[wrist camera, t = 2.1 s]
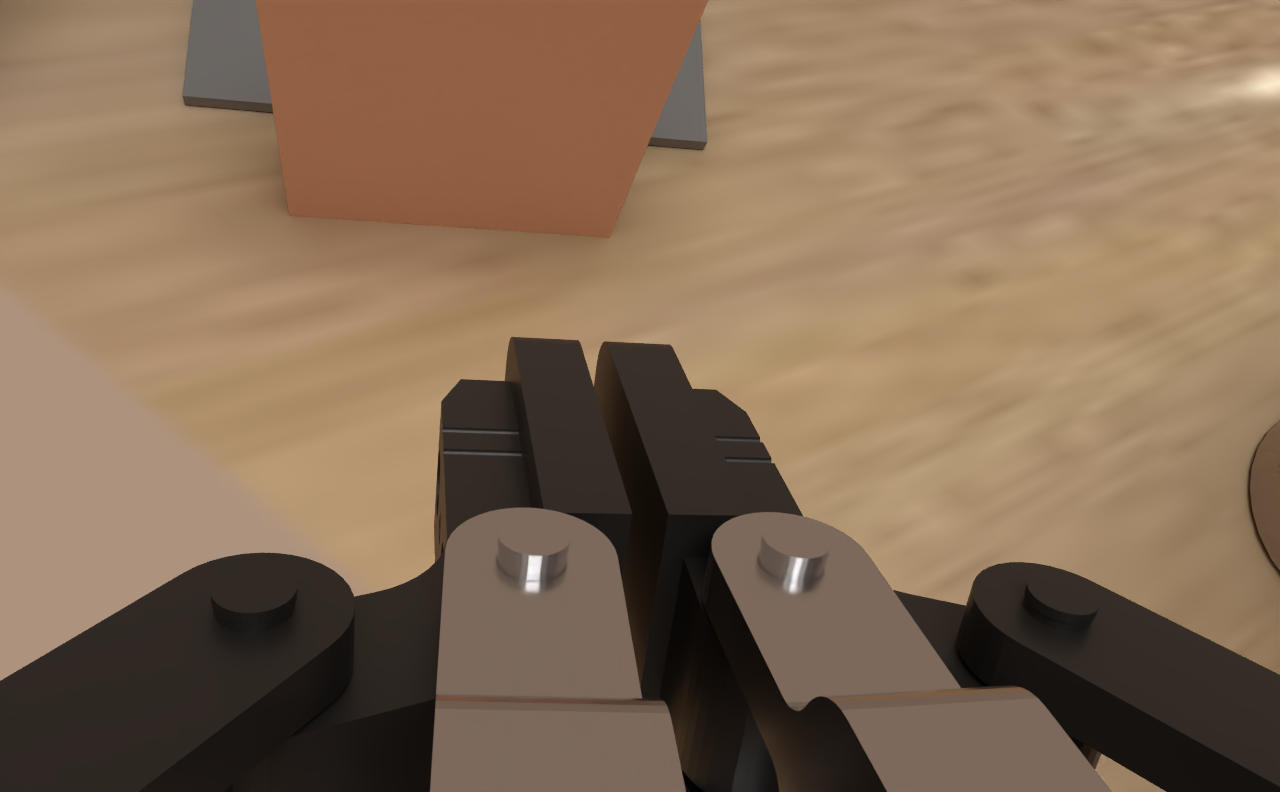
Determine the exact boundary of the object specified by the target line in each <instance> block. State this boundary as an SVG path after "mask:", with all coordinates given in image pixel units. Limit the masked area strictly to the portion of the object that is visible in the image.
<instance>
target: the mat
mask: <svg viewBox="0 0 1280 792" xmlns="http://www.w3.org/2000/svg"><path fill="white" fill-rule="evenodd" d="M183 99H184V102H185V105H193V106H204V107H216V108H227V109H239V110H250V111H262V112H273V108H272V101H271V95H270V88H269V82H268V76H267V69H266V63H265V56H264V50H263V44H262V37H261V31H260V24H259V18H258V12H257V5H256V0H193V8H192V17H191V26H190V35H189V44H188V53H187V62H186V71H185V80H184V88H183ZM706 143H707V132H706V114H705V96H704V78H703V60H702V42H701V24H700V21H699V23H698V26H697V28H696V30H695V33H694V35H693V38H692V40H691V42H690V45H689V47H688V50H687V52H686V54H685V57H684V59H683V62H682V64H681V66H680V69H679V71H678V74H677V76H676V78H675V81H674V83H673V86H672V88H671V90H670V93H669V95H668V98H667V100H666V102H665V105H664V107H663V110H662V112H661V114H660V117H659V119H658V122H657V124H656V126H655V129H654V131H653V134H652V136H651V138H650V141H649V143H648V145H654V146H666V147H677V148H689V149H700V150H703V149H704V147H705V145H706Z"/></svg>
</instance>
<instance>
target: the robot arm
mask: <svg viewBox="0 0 1280 792" xmlns="http://www.w3.org/2000/svg"><path fill="white" fill-rule="evenodd" d="M1250 494H1251V503H1252V512H1253V515H1254V518H1255V522H1256V525H1257V529H1258V532H1259V535H1260V537H1261V539H1262V541H1263V543H1264V545H1265V547H1266V549H1267V552H1268V554H1269V556H1270V558H1271V559H1272V560H1273V562H1274V563H1275V565H1276V566H1277V567H1278V569H1279V570H1280V421H1279V422H1278V423H1277V424H1276V425H1275V426H1274V427H1273V428H1272V429H1271V430H1270V431H1268V433H1267V434H1266V436H1265V437H1264V439H1263V441H1262V442H1261V444H1260V445H1259V447H1258V449H1257V452H1256V456H1255V459H1254V462H1253V465H1252V470H1251V482H1250ZM434 538H435V563H434V564H433V565H432V566H431V567H430V568H429V569H428V570H426V571H425V572H424V573H422V574H421V575H419V576H418V577H416V578H414V579H412V580H410V581H408V582H406V583H404V584H401V585H398V586H396V587H393V588H390V589H386V590H382V591H378V592H375V593H370V594H365V595H360V596H355V597H354V595H353V593H352V591H351V589H350V586H349V585H348V584H347V583H346V581H345V580H344V579H343V578H342V577H341V576H340V575H339V574H337V573H336V572H335V571H333V570H332V569H330V568H328V567H326V566H325V565H323V564H321V563H318V562H315V561H313V560H310V559H307V558H303V557H298V556H294V555H286V554H279V553H250V554H240V555H235V556H228V557H224V558H220V559H217V560H213V561H209V562H207V563H204V564H202V565H199V566H196V567H194V568H192V569H190V570H188V571H186V572H184V573H183V574H181V575H179V576H178V577H176V578H174V579H172V580H171V581H169V582H167V583H166V584H164V585H162V586H160V587H159V588H157V589H155V590H154V591H152V592H150V593H149V594H147V595H145V596H143V597H142V598H140V599H138V600H137V601H135V602H133V603H132V604H130V605H128V606H127V607H125V608H123V609H122V610H120V611H118V612H116V613H115V614H113V615H111V616H110V617H108V618H106V619H104V620H103V621H101V622H99V623H98V624H96V625H94V626H93V627H91V628H89V629H88V630H86V631H84V632H82V633H81V634H79V635H78V636H76V637H74V638H72V639H71V640H69V641H67V642H66V643H64V644H62V645H60V646H59V647H57V648H55V649H54V650H52V651H50V652H49V653H47V654H45V655H44V656H42V657H40V658H38V659H37V660H35V661H34V662H32V663H30V664H28V665H27V666H25V667H23V668H22V669H20V670H18V671H16V672H15V673H13V674H11V675H10V676H8V677H6V678H5V679H3V680H1V681H0V792H1111V790H1110V789H1109V788H1108V786H1107V785H1106V784H1105V783H1104V781H1103V780H1102V779H1101V777H1100V776H1099V775H1098V773H1097V772H1096V771H1095V769H1096V766H1097V763H1098V761H1099V758H1100V756H1101V753H1102V754H1103V755H1105V756H1107V757H1108V758H1110V759H1112V760H1114V761H1115V762H1117V763H1119V764H1120V765H1122V766H1124V767H1125V768H1127V769H1129V770H1131V771H1132V772H1134V773H1136V774H1137V775H1139V776H1141V777H1143V778H1144V779H1146V780H1148V781H1149V782H1151V783H1153V784H1154V785H1156V786H1158V787H1160V788H1161V789H1163V790H1165V791H1166V792H1280V675H1279V674H1277V673H1275V672H1273V671H1271V670H1269V669H1267V668H1265V667H1263V666H1261V665H1259V664H1257V663H1255V662H1253V661H1251V660H1249V659H1247V658H1245V657H1243V656H1241V655H1239V654H1237V653H1235V652H1233V651H1231V650H1229V649H1227V648H1225V647H1223V646H1221V645H1219V644H1217V643H1215V642H1213V641H1211V640H1209V639H1207V638H1205V637H1203V636H1201V635H1199V634H1197V633H1194V632H1192V631H1190V630H1188V629H1186V628H1184V627H1182V626H1180V625H1178V624H1176V623H1174V622H1172V621H1170V620H1168V619H1166V618H1164V617H1162V616H1160V615H1158V614H1156V613H1154V612H1152V611H1150V610H1148V609H1146V608H1144V607H1142V606H1140V605H1138V604H1136V603H1134V602H1132V601H1130V600H1128V599H1126V598H1124V597H1122V596H1120V595H1118V594H1116V593H1114V592H1112V591H1110V590H1108V589H1106V588H1104V587H1102V586H1100V585H1098V584H1096V583H1094V582H1092V581H1090V580H1088V579H1086V578H1083V577H1081V576H1079V575H1076V574H1074V573H1071V572H1068V571H1065V570H1062V569H1058V568H1055V567H1051V566H1046V565H1041V564H1035V563H1024V562H1010V563H1003V564H998V565H994V566H991V567H989V568H987V569H985V570H983V571H982V572H981V573H980V574H979V575H977V576H976V578H975V580H974V582H973V585H972V588H971V592H970V595H969V598H968V601H967V605H966V606H964V605H959V604H955V603H950V602H945V601H940V600H935V599H931V598H926V597H921V596H916V595H911V594H907V593H903V592H899V591H895V590H892V588H891V587H890V585H889V584H888V582H887V581H886V580H885V578H884V577H883V575H882V574H881V572H880V571H879V570H878V568H877V567H876V565H875V564H874V562H873V561H872V560H871V558H870V557H869V555H868V554H867V553H866V552H865V550H864V549H863V548H862V547H861V546H860V545H859V544H858V543H857V542H856V541H854V540H853V539H852V538H850V537H849V536H847V535H846V534H845V533H843V532H841V531H839V530H837V529H836V528H834V527H832V526H829V525H827V524H825V523H822V522H820V521H817V520H814V519H810V518H807V517H803V515H802V513H801V511H800V510H799V508H798V506H797V504H796V502H795V500H794V499H793V497H792V495H791V493H790V491H789V489H788V488H787V486H786V484H785V482H784V480H783V478H782V477H781V475H780V473H779V471H778V469H777V468H776V466H775V464H774V463H771V457H770V455H769V453H768V451H767V449H766V447H765V446H764V444H763V443H762V442H760V436H759V435H758V433H757V431H756V429H755V427H754V426H753V424H752V422H751V420H750V418H749V416H748V415H747V413H746V412H745V411H744V410H742V409H741V408H740V407H738V406H737V405H736V404H734V403H733V402H732V401H730V400H729V399H728V398H726V397H725V396H724V395H722V394H721V393H720V392H718V391H717V390H708V389H692V387H691V385H690V383H689V381H688V379H687V377H686V375H685V373H684V371H683V368H682V366H681V364H680V362H679V360H678V358H677V356H676V354H675V352H674V350H673V348H672V346H671V345H664V344H644V343H624V342H603V343H602V345H601V348H600V351H599V355H598V360H597V367H596V375H595V383H594V387H593V383H592V380H591V377H590V373H589V370H588V367H587V364H586V360H585V357H584V354H583V351H582V347H581V344H580V342H579V341H578V340H561V339H541V338H521V337H511V339H510V342H509V347H508V354H507V363H506V374H505V381H488V380H464V379H461V380H460V381H459V382H458V383H457V384H456V386H455V387H454V388H453V389H452V390H451V391H450V392H449V393H448V394H447V396H446V397H445V398H444V399H443V400H442V402H441V419H440V436H439V453H438V469H437V486H436V503H435V520H434Z"/></svg>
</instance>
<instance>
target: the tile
mask: <svg viewBox="0 0 1280 792" xmlns="http://www.w3.org/2000/svg"><path fill="white" fill-rule="evenodd" d="M707 2H708V0H256V5H257V12H258V18H259V24H260V31H261V37H262V44H263V50H264V56H265V63H266V69H267V76H268V82H269V88H270V95H271V101H272V108H273V114H274V120H275V127H276V133H277V140H278V146H279V152H280V159H281V165H282V172H283V178H284V184H285V191H286V197H287V204H288V210H289V215H290V216H305V217H319V218H334V219H348V220H363V221H377V222H392V223H406V224H421V225H435V226H449V227H464V228H478V229H493V230H507V231H522V232H536V233H551V234H565V235H580V236H594V237H610V234H611V232H612V229H613V227H614V225H615V222H616V220H617V218H618V215H619V213H620V210H621V208H622V206H623V203H624V201H625V198H626V196H627V194H628V191H629V189H630V186H631V184H632V182H633V179H634V177H635V174H636V172H637V170H638V167H639V165H640V162H641V160H642V158H643V155H644V153H645V150H646V148H647V146H648V143H649V141H650V138H651V136H652V134H653V131H654V129H655V126H656V124H657V122H658V119H659V117H660V114H661V112H662V110H663V107H664V105H665V102H666V100H667V98H668V95H669V93H670V90H671V88H672V86H673V83H674V81H675V78H676V76H677V74H678V71H679V69H680V66H681V64H682V62H683V59H684V57H685V54H686V52H687V50H688V47H689V45H690V42H691V40H692V38H693V35H694V33H695V30H696V28H697V26H698V23H699V21H700V18H701V16H702V14H703V11H704V9H705V6H706V4H707Z"/></svg>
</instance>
